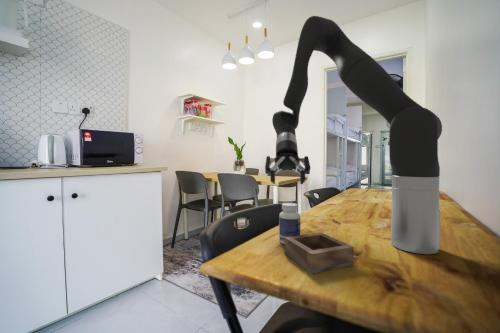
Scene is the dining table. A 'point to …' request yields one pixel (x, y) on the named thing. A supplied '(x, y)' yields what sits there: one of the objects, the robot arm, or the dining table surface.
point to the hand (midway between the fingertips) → (287, 182)
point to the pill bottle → (289, 221)
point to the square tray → (318, 252)
